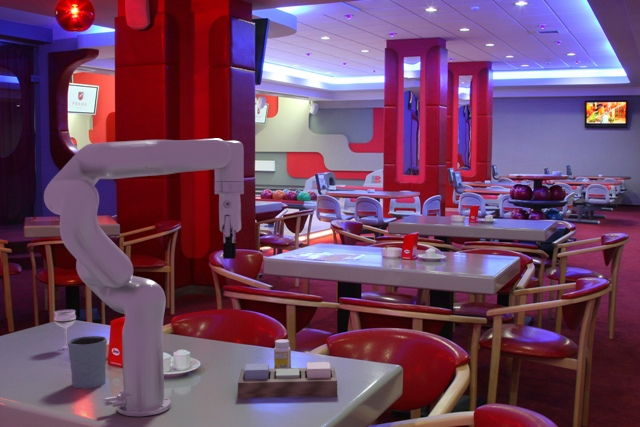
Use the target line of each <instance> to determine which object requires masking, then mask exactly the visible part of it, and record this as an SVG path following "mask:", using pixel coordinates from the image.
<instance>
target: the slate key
mask: <svg viewBox="0 0 640 427" xmlns="http://www.w3.org/2000/svg"><path fill="white" fill-rule="evenodd" d="M244 369H245V370H244V371H245V380H253V379H269V369H270V364H269V363H268V362H267V363H264V362H262V363H245V368H244Z"/></svg>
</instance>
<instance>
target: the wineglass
mask: <svg viewBox="0 0 640 427" xmlns="http://www.w3.org/2000/svg"><path fill="white" fill-rule="evenodd" d="M53 313H54V316H53V319H54V320H53V321H54V323H55V324H56V325H57V326H58V327H61V328H62V329H63V330H64V345H63V346H62V347H63V348H67V347H68V341H67V340H68V339H67V335H68V334H67V333H68V331H67V330H68V329H69V327H71V326H73V324H75V322H76V320H77V315H76V310H75V309H72V308H71V309H68V308H67V309H59V310H55V311H53Z"/></svg>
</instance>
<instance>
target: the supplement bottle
mask: <svg viewBox="0 0 640 427" xmlns="http://www.w3.org/2000/svg"><path fill="white" fill-rule="evenodd" d="M274 346H275V347H274V348H273V355H274V356H273V365H274V366H273V367H274V368H273V369H279V368H292V364H291V363H292V361H291V353H292V352H291V350H292V349H291V347H290V341H289V339H283V338H282V339H281V338H280V339H276V340H274Z"/></svg>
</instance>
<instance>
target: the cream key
mask: <svg viewBox="0 0 640 427" xmlns="http://www.w3.org/2000/svg"><path fill="white" fill-rule="evenodd" d="M330 367H331V365H330V362H329V361H323V362H321V361H320V362H319V361H318V362H314V361H313V362H306V368H307V378H331V368H330Z"/></svg>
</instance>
